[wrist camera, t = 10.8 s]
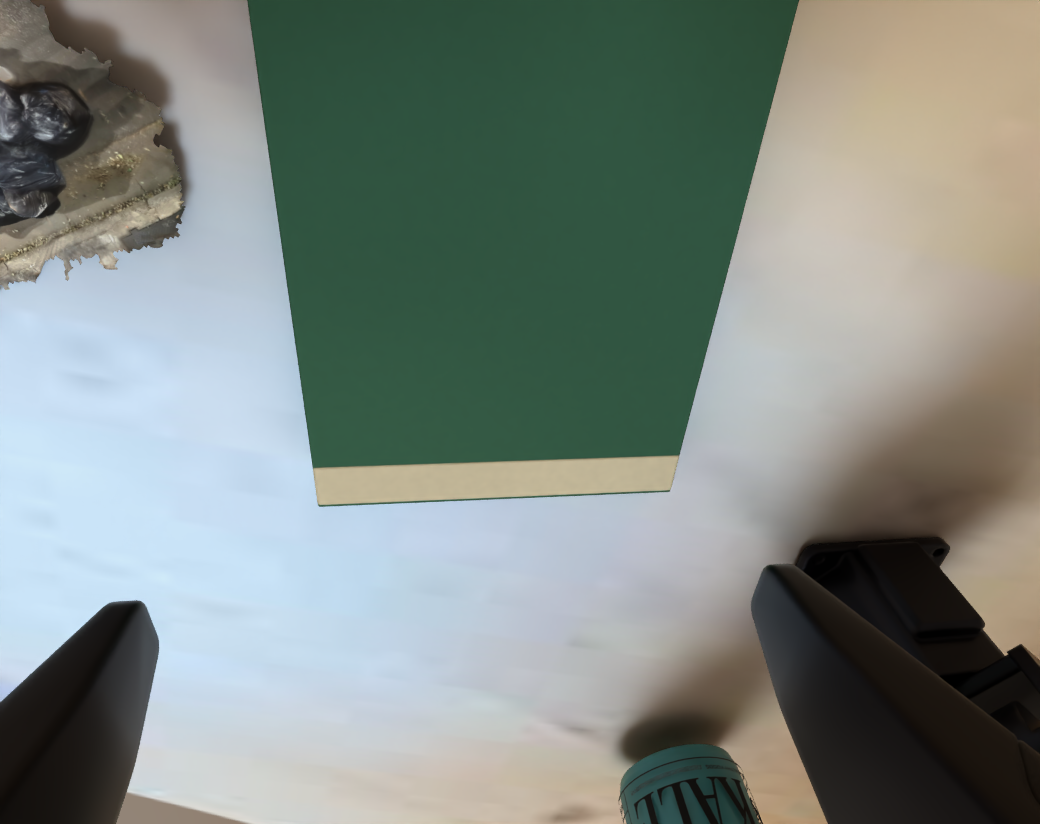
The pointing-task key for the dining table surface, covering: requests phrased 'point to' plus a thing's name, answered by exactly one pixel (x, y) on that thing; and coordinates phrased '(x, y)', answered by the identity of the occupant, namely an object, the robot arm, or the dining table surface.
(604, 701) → the dining table surface
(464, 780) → the dining table surface
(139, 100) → the blueberries
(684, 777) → the beverage bottle
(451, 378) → the green flat rectangular block
